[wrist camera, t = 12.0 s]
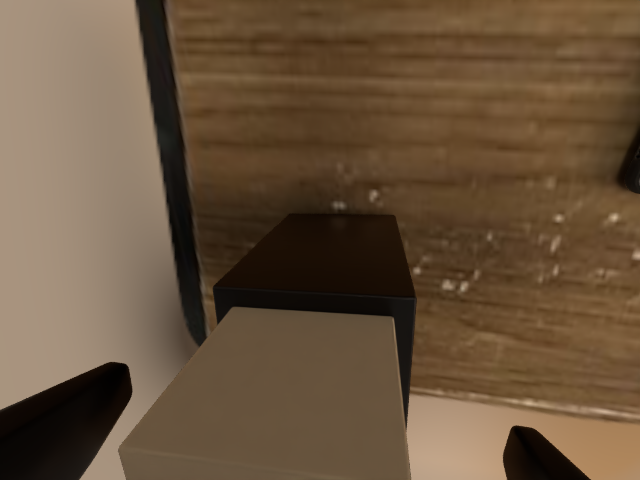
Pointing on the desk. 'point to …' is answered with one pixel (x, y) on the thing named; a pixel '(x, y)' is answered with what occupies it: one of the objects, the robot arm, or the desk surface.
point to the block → (279, 403)
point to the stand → (329, 275)
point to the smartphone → (634, 173)
